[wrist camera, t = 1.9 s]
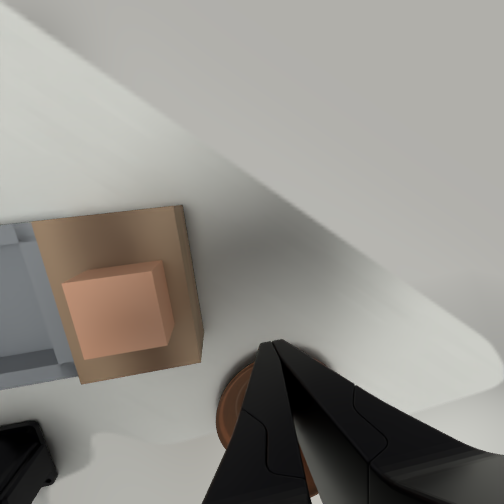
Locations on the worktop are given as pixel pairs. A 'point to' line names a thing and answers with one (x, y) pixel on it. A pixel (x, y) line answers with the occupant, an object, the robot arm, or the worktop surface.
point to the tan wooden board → (123, 253)
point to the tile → (120, 309)
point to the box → (28, 315)
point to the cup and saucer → (230, 413)
